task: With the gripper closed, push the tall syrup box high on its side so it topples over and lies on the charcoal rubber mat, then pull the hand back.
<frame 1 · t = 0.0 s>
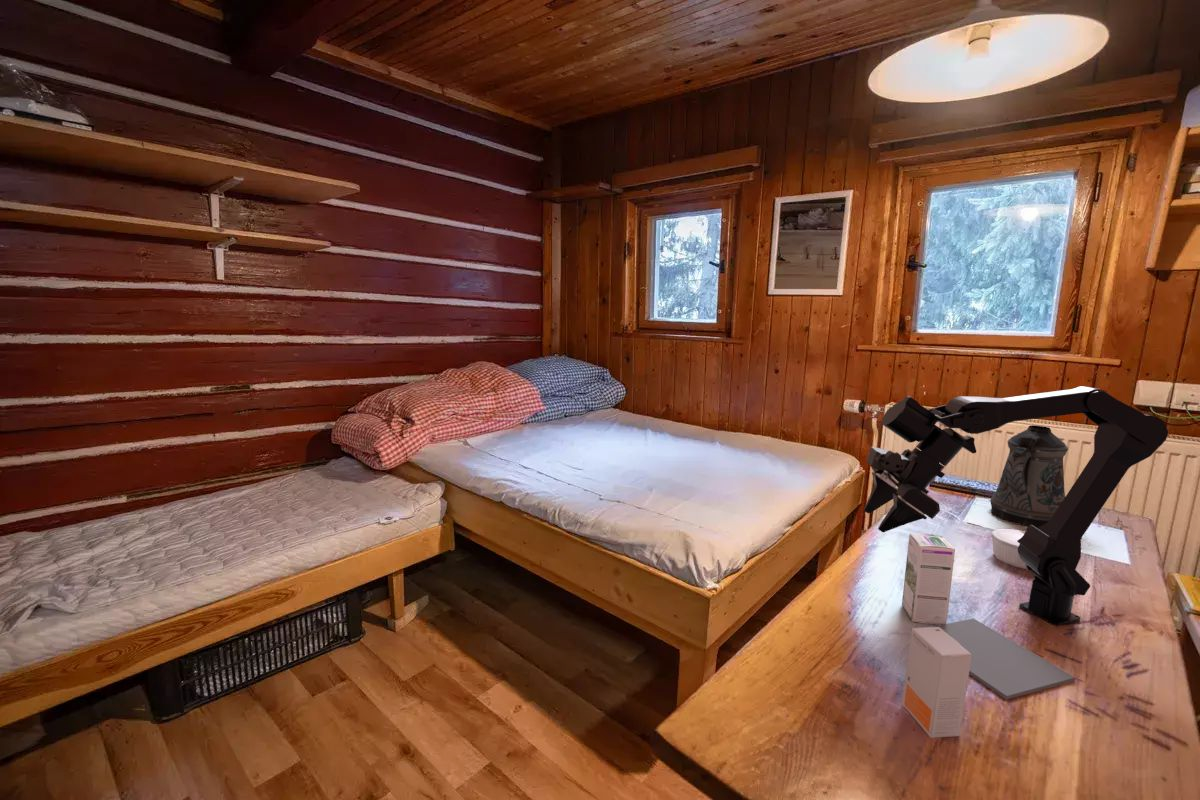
hand: (872, 520, 101), 15 cm above the table, tool tilted 35°, fingers open, 9 cm apart
skincare box: (929, 722, 72), on the table
mat: (987, 656, 85), on the table
syrup box: (922, 616, 97), on the table
ramekin: (1019, 561, 119), on the table
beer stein: (1027, 520, 143), on the table
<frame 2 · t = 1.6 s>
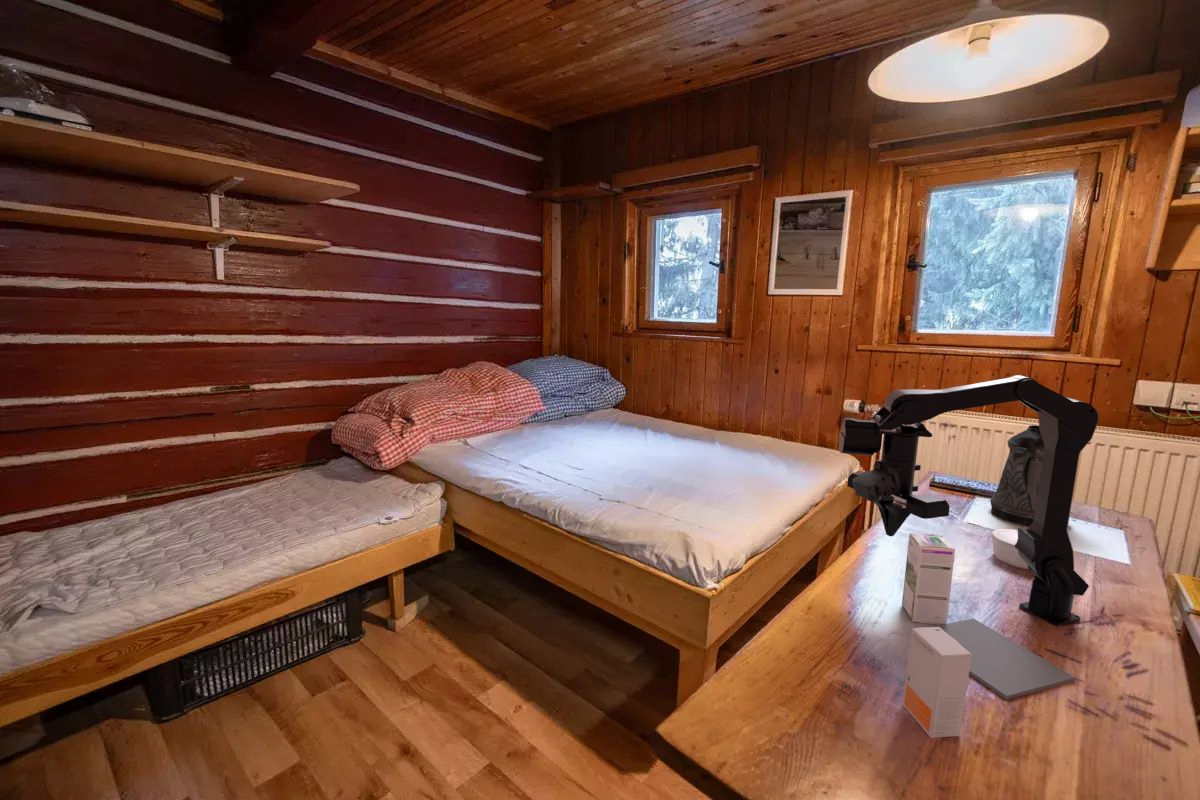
hand: (890, 535, 103), 11 cm above the table, tool pointing down, fingers closed
nothing on the table moved.
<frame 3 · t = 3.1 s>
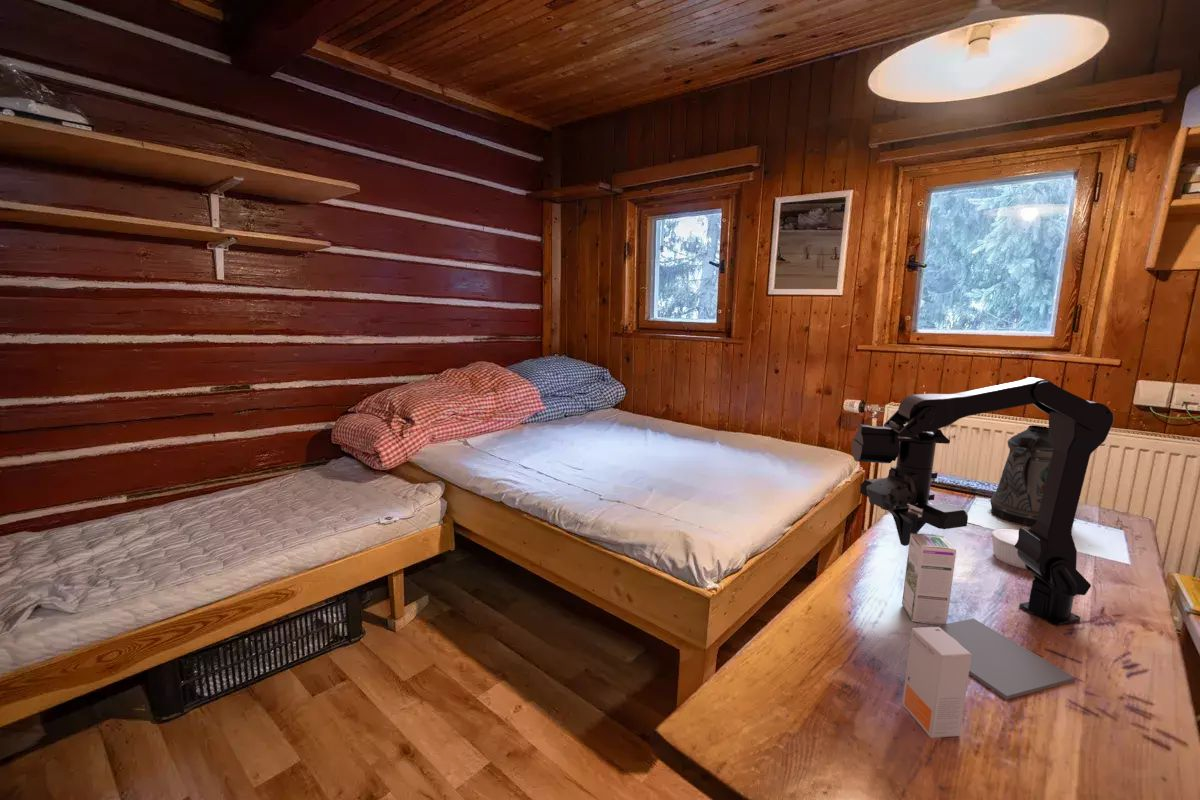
hand: (904, 545, 100), 11 cm above the table, tool pointing down, fingers closed
syrup box: (922, 615, 97), on the table, touching gripper
everything else where it was.
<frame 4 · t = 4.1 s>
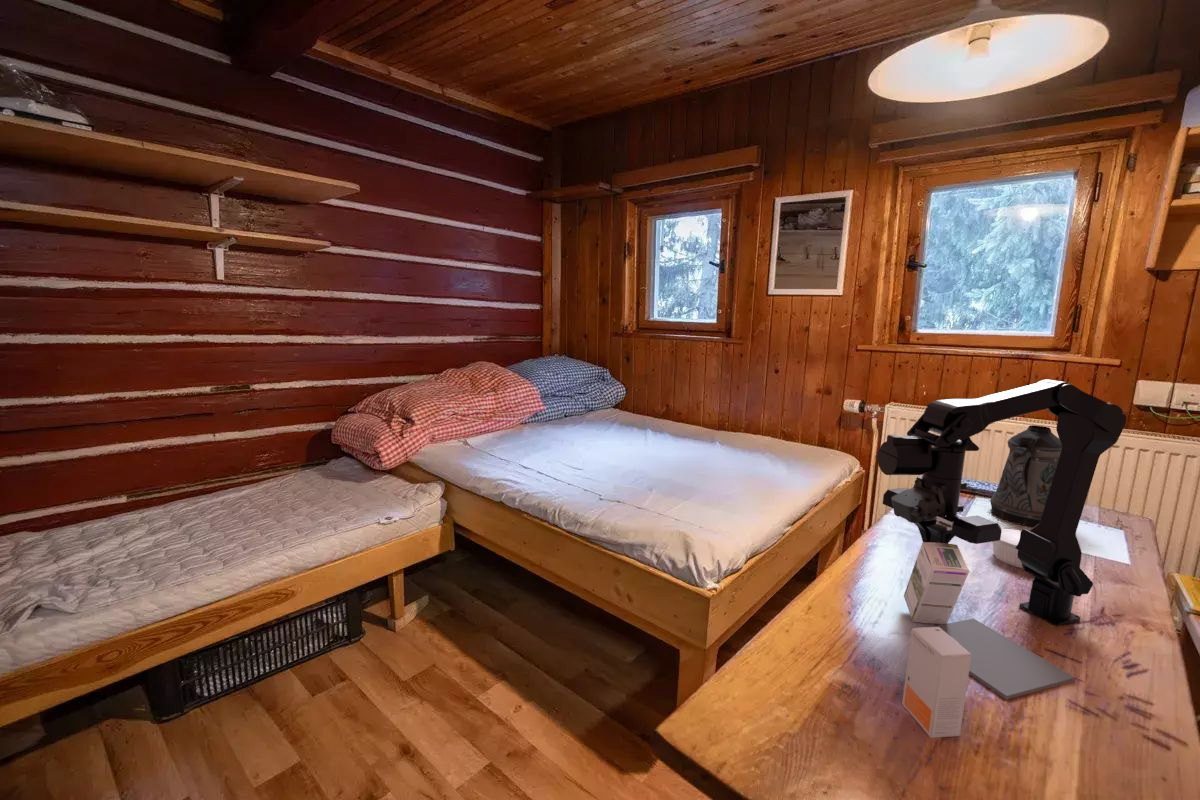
hand: (931, 559, 95), 11 cm above the table, tool pointing down, fingers closed
syrup box: (923, 610, 96), point 1 cm above the table
everything else where it was.
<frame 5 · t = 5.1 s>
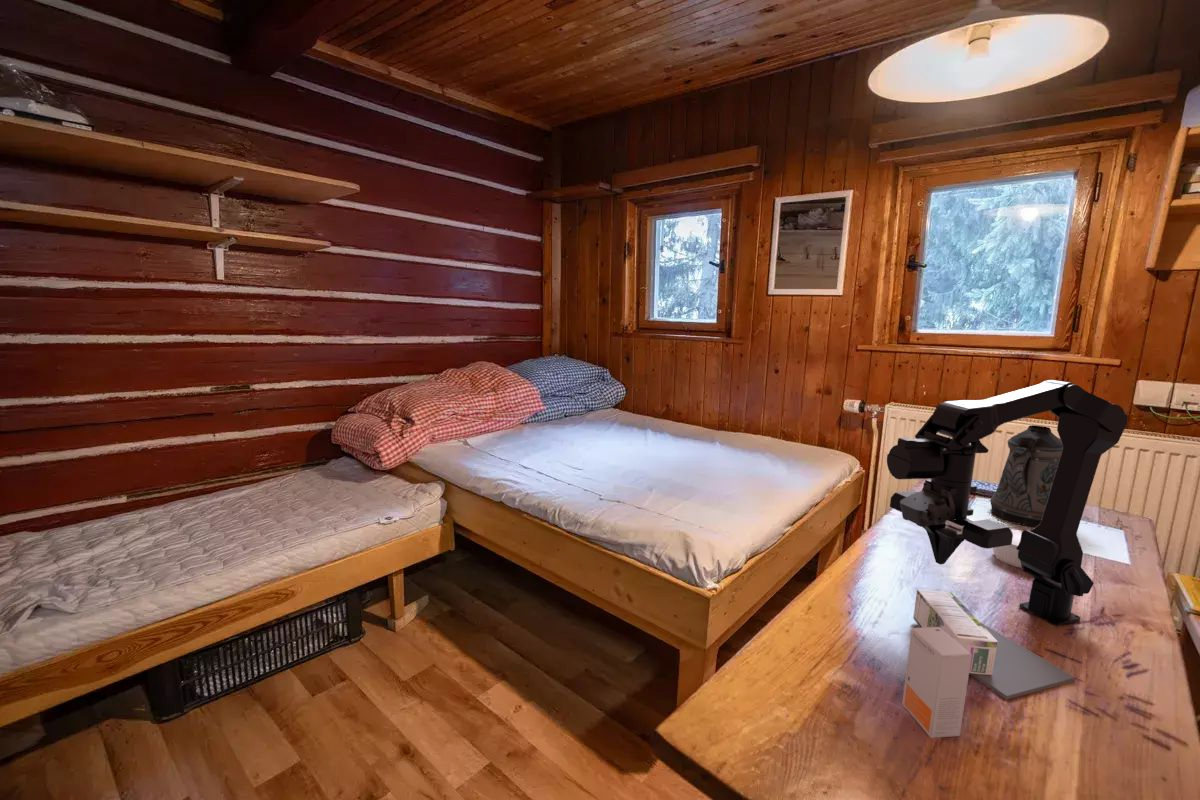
hand: (939, 563, 93), 11 cm above the table, tool pointing down, fingers closed
syrup box: (930, 604, 94), point 3 cm above the table, touching mat
everything else where it was.
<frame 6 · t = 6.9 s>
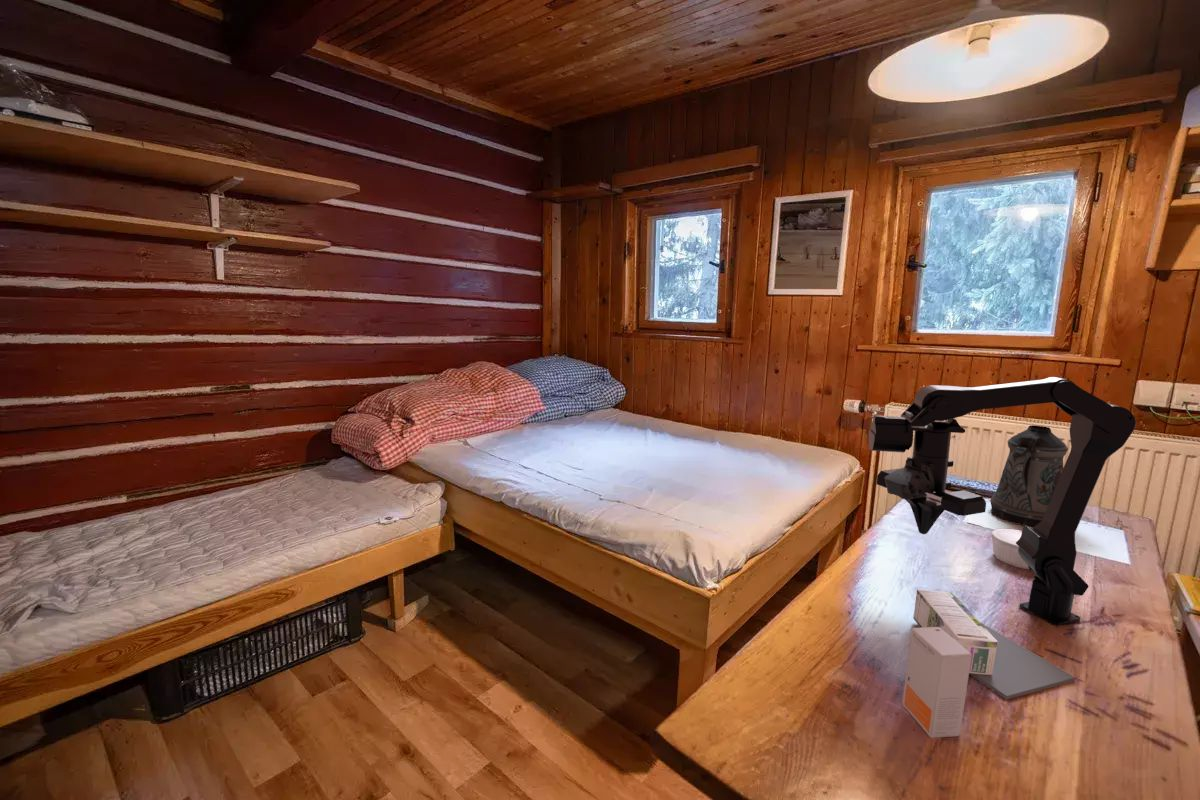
hand: (923, 533, 102), 12 cm above the table, tool pointing down, fingers closed
nothing on the table moved.
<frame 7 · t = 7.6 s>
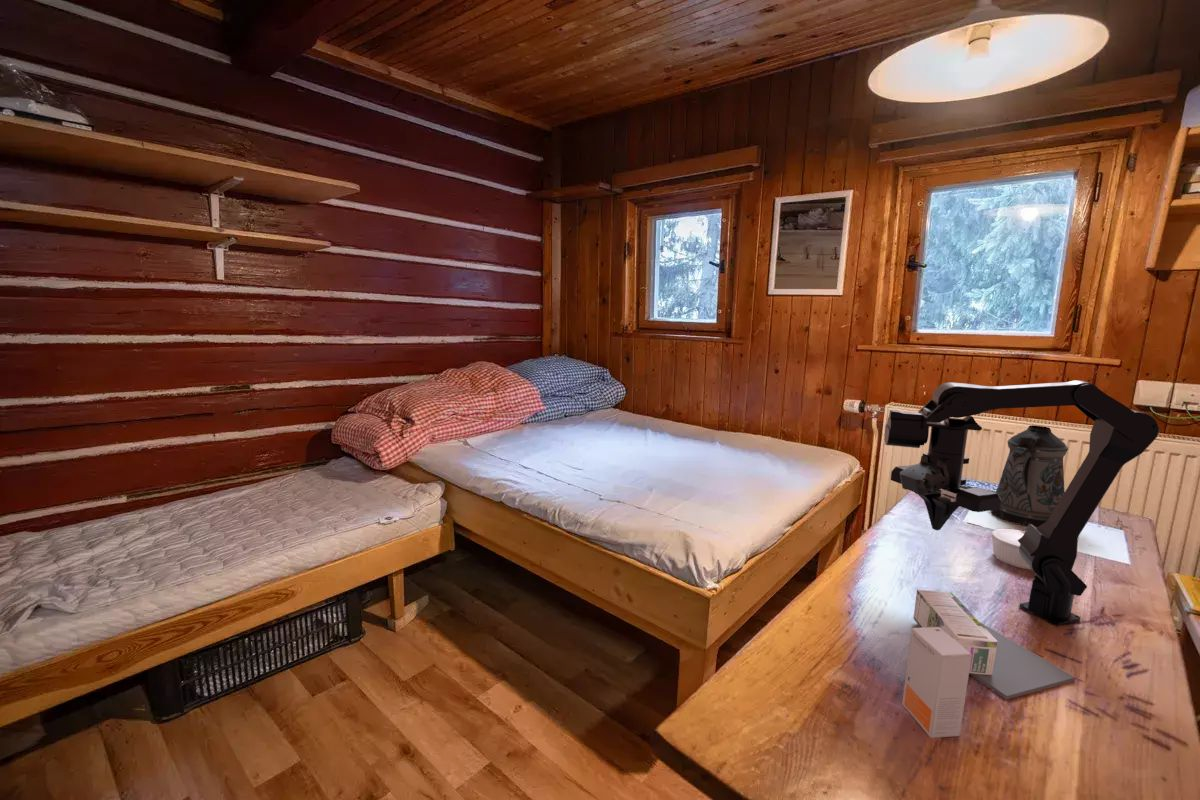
hand: (936, 529, 102), 13 cm above the table, tool pointing down, fingers closed
nothing on the table moved.
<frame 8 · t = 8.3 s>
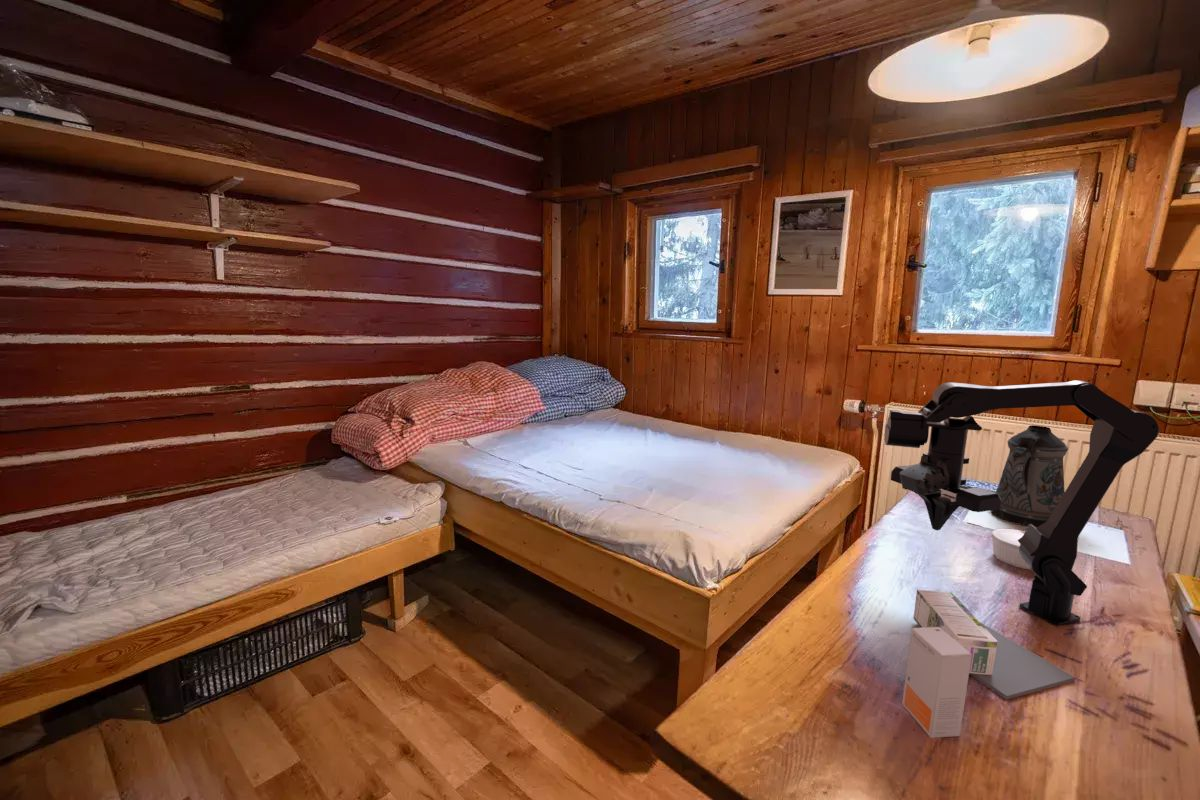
hand: (936, 529, 102), 13 cm above the table, tool pointing down, fingers closed
nothing on the table moved.
at the end: syrup box tilted 90°; syrup box touching mat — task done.
